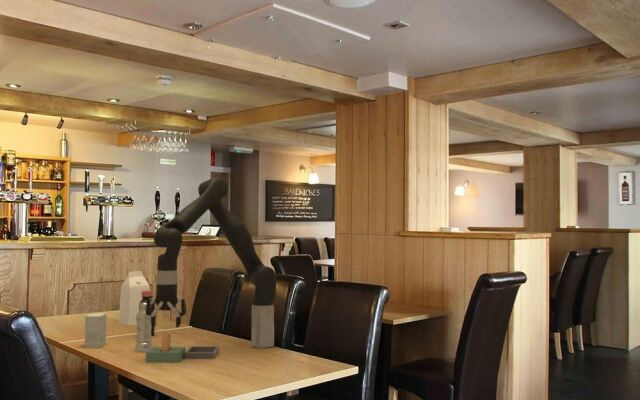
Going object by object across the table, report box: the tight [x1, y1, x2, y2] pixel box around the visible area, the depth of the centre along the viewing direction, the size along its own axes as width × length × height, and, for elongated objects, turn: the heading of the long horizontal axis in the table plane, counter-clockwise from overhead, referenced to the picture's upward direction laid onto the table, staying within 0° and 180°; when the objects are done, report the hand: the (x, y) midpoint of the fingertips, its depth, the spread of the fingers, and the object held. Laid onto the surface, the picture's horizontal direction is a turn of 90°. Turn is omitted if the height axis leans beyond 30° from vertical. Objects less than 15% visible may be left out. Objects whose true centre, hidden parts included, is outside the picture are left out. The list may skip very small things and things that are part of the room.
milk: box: [118, 270, 151, 326], centre depth 308 cm, size 12×12×26 cm
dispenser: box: [145, 346, 186, 364], centre depth 222 cm, size 12×10×5 cm
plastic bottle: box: [135, 302, 154, 353], centre depth 237 cm, size 6×7×20 cm
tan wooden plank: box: [161, 332, 172, 351], centre depth 222 cm, size 2×6×9 cm, turn 1°
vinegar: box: [139, 290, 156, 337], centre depth 275 cm, size 7×7×20 cm
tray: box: [183, 345, 220, 360], centre depth 229 cm, size 11×12×4 cm
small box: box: [84, 312, 107, 349], centre depth 251 cm, size 8×6×13 cm
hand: (165, 327), depth 222 cm, fingers open, 8 cm apart
